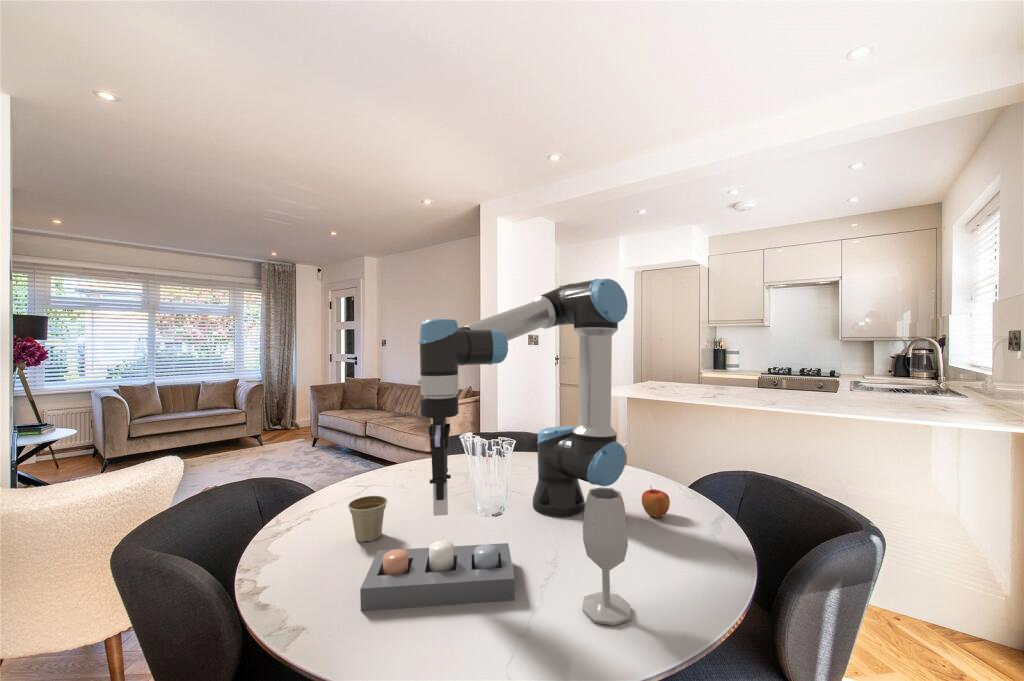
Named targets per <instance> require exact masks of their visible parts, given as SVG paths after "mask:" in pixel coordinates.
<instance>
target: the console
mask: <svg viewBox="0 0 1024 681" xmlns="http://www.w3.org/2000/svg"><path fill="white" fill-rule="evenodd" d="M489 544H490V545H494V546H496V547H497V548H498V568H492V569H476V570H475V555H474V550H475V548H476V547H478V546H480V545H481V544H470V545H469V544H467V545H453V553H454V566H453V568H452V569H451V570H449V571H444V572H433V571H431V570H430V568H429V547H420V548H419V547H417V548H415V547H414V548H403V549H401V548H400V549H401V550H405V551H407V552H408V574H396V575H383V556H384V554H386V553H387V552H389V551H392V550H393V549H383V550H381V549H379V550H377V552H376V554H375V557H374V558H373V560H372V562H371V565H370V568H369V569H368V571H367V574H366V576H365V578H364V580H363V582H362V584H361V586H360V611H363V612H364V611H378V610H390V609H392V610H393V609H405V608H407V609H408V608H420V607H433V606H434V607H435V606H446V605H447V606H448V605H449V606H450V605H463V604H464V605H465V604H477V603H490V602H491V603H493V602H492V601H494V602H504V601H505V602H506V601H515V596H516V595H515V575H514V568H513V564H512V558H511V557H512V556H511V553H510V545H509V543H508V542H507V543H506V542H504V543H489ZM483 545H485V544H483Z"/></svg>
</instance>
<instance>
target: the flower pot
mask: <svg viewBox="0 0 1024 681" xmlns="http://www.w3.org/2000/svg"><path fill="white" fill-rule="evenodd" d="M388 502H389V501H388V498H387V497H386V496H382V495H366V496H360V497H358V498H357V497H356V498H355V499H353V500H351V501H350V502H349V503H348V504H347V508H348V509H349V513H350V514H351V519H352V524H353V532H354V538H355V540H356V541H357V542H361V543H364V542H366V541H367V542H373V541H376V540H378V539H380V537H381V536H382V533H383V532H382V531H383V524H384V523H383V522H384V516H385V514H384V513H385V510H386V506H387V504H388Z"/></svg>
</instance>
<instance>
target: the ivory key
mask: <svg viewBox="0 0 1024 681" xmlns="http://www.w3.org/2000/svg"><path fill="white" fill-rule="evenodd" d="M453 546H454V543H453V542H452V541H449V540H438V541H434V542H432V543H431V544H430V545H429V547H428V548H429V568H430V570H431V571H433V572H444V571H449V570H451V569H452V568H453V566H454V553H453Z"/></svg>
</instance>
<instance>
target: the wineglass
mask: <svg viewBox="0 0 1024 681" xmlns="http://www.w3.org/2000/svg"><path fill="white" fill-rule="evenodd" d="M625 507H626V506H625V502H624V499H623V496H622V493H621V491H620V490H619V491H618V490H617V489H614V488H613V487H602V486H601V487H594V488H590V489H589V490H588V493H587V497H586V501H585V509H584V514H583V521H582V522H583V523H582V541H583V547H584V549H585V553H586V556H587V557H588V558H589V559H590V560H592V562H593V563H594V564H595V565H597V567H599V568H600V569H601V573H602V575H601V576H602V578H601V579H602V581H601V582H602V583H601V585H602V586H601V587H602V590H601V591H597V592H594V593H591V594H588V595H585V596H583V602H582V609H581V610H582V612H583V613H584V614H585V615H586V616H587V618H589V619H590V620H591V622H593V623H594V624H600V625H606V626H607V625H608V626H617V625H621V624H623V623H626V622H629V621H631V619H632V615H631V613H632V612H631V604H630V603H629V602H628V601H627V600H626V599H624V598H623V597H622V596H621V595H619V594H618V593H611V582H610V581H611V577H610V576H611V575H610V573H611V572H610V571H612V570H613V569H614V568H616V567H618V566H619V565H620V564H622V563H624V562H625V559H626V556H627V555H626V554H627V552H628V546H629V536H628V532H629V530H628V519H627V513H626V508H625Z"/></svg>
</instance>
